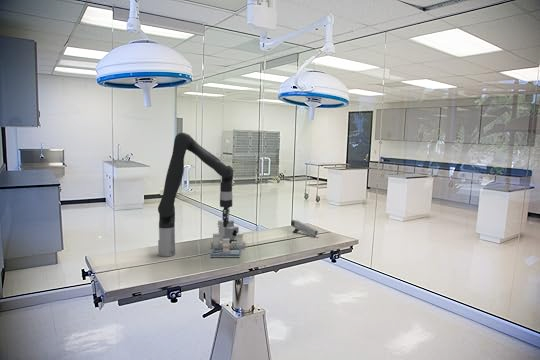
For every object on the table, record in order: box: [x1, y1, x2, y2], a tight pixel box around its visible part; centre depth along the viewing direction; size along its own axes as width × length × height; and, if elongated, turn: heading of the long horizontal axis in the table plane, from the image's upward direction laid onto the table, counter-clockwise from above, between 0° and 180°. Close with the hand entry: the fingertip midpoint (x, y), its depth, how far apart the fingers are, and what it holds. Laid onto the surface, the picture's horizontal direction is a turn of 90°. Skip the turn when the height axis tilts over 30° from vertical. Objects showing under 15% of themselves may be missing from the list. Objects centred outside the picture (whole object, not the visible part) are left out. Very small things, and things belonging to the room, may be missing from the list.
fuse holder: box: [209, 240, 246, 250], centre depth 226 cm, size 22×9×5 cm, turn 91°
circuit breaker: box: [217, 219, 240, 242], centre depth 242 cm, size 8×14×15 cm, turn 53°
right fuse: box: [236, 232, 244, 248], centre depth 226 cm, size 4×4×9 cm
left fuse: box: [212, 232, 220, 248], centre depth 226 cm, size 4×4×9 cm
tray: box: [210, 248, 242, 259], centre depth 215 cm, size 17×13×2 cm
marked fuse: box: [222, 239, 231, 254], centre depth 215 cm, size 4×4×9 cm
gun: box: [290, 219, 319, 238], centre depth 266 cm, size 2×25×10 cm, turn 44°
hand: (225, 225), depth 213 cm, fingers open, 8 cm apart
